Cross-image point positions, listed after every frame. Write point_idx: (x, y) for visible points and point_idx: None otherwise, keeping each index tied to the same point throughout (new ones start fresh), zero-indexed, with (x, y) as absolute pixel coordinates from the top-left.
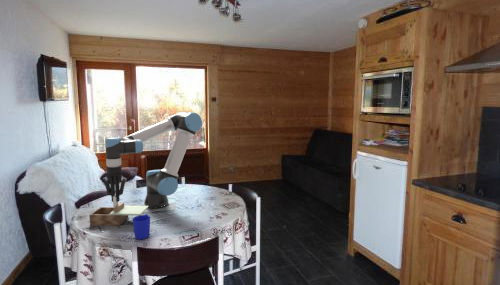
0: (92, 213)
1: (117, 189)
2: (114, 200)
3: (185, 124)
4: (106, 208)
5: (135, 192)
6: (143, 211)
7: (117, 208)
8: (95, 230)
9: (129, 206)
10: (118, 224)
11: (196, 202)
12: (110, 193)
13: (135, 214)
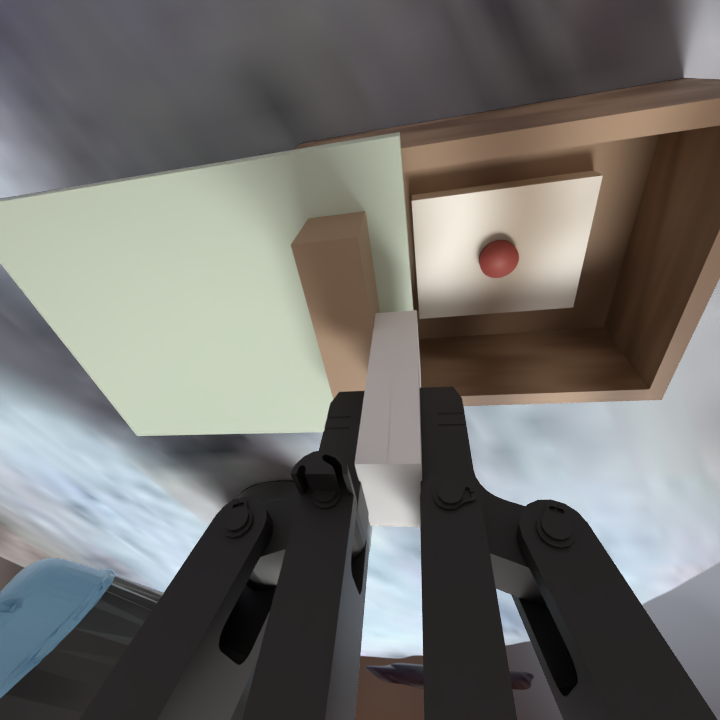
0: None
1: (246, 704)
2: (390, 394)
3: None
4: (574, 384)
5: (510, 617)
6: (47, 313)
7: (297, 253)
8: None
9: (299, 411)
10: (308, 144)
11: (130, 537)
12: (512, 554)
13: (19, 197)
